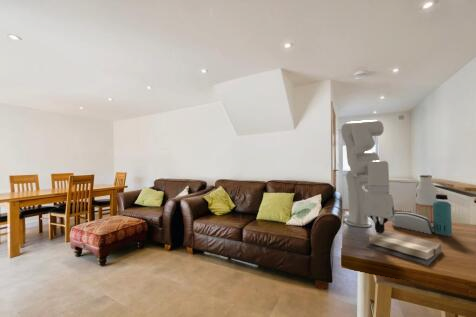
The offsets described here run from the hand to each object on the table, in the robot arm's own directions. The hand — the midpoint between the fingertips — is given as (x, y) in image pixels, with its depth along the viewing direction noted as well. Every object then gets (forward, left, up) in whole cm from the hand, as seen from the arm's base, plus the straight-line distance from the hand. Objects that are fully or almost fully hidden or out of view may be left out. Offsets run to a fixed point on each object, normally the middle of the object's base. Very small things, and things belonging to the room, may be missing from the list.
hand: (379, 232), depth 87 cm
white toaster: (0, +38, -7) cm, 39 cm away
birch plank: (+6, +2, -5) cm, 8 cm away
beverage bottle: (+12, +38, -7) cm, 40 cm away
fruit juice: (+3, +53, -7) cm, 53 cm away
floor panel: (+6, +6, -7) cm, 11 cm away
